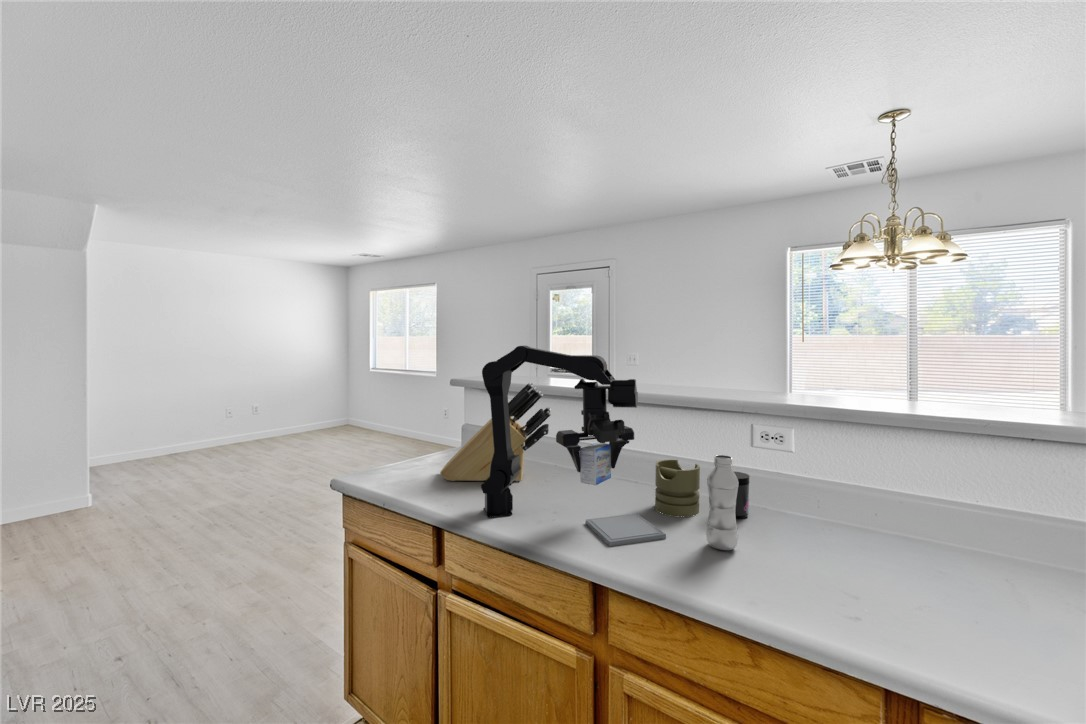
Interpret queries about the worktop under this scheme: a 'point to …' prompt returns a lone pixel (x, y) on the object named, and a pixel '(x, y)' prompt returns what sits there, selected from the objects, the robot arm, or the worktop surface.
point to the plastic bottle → (722, 504)
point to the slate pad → (624, 529)
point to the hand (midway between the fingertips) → (596, 470)
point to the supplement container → (742, 495)
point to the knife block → (480, 448)
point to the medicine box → (595, 463)
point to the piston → (677, 489)
